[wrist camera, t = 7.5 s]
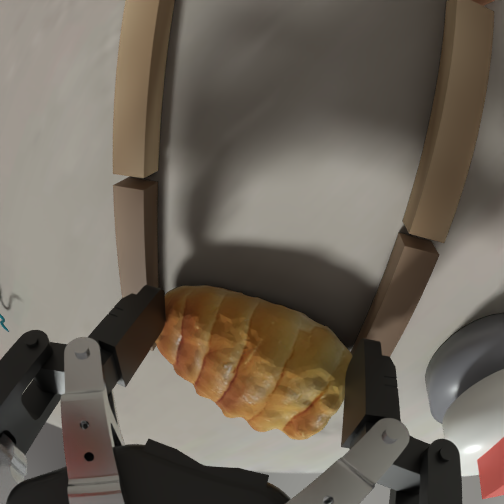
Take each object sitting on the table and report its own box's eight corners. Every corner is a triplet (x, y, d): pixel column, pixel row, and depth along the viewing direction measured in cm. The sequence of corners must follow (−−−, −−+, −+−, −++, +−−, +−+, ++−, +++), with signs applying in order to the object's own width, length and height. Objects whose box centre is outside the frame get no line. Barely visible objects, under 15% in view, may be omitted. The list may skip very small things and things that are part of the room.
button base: (404, 396, 16) (407, 424, 14) (463, 303, 12) (476, 331, 11) (489, 402, 15) (496, 426, 13) (549, 322, 11) (563, 345, 10)
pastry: (156, 335, 17) (123, 384, 14) (183, 242, 14) (137, 292, 11) (303, 405, 17) (292, 460, 14) (373, 335, 14) (374, 402, 10)
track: (138, 329, 18) (129, 342, 17) (190, -159, 4) (181, -169, 3) (361, 385, 16) (361, 402, 15) (467, -126, 2) (474, -136, 1)
